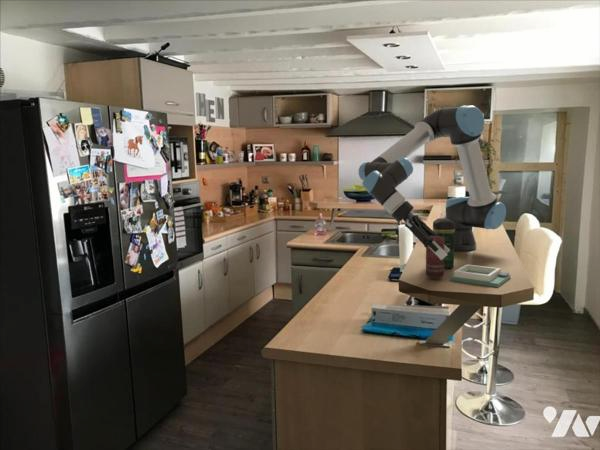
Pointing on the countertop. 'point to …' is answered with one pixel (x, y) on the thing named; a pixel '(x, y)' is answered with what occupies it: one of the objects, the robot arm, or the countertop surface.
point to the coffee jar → (446, 238)
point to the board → (480, 275)
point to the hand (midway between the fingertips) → (445, 255)
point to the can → (435, 258)
